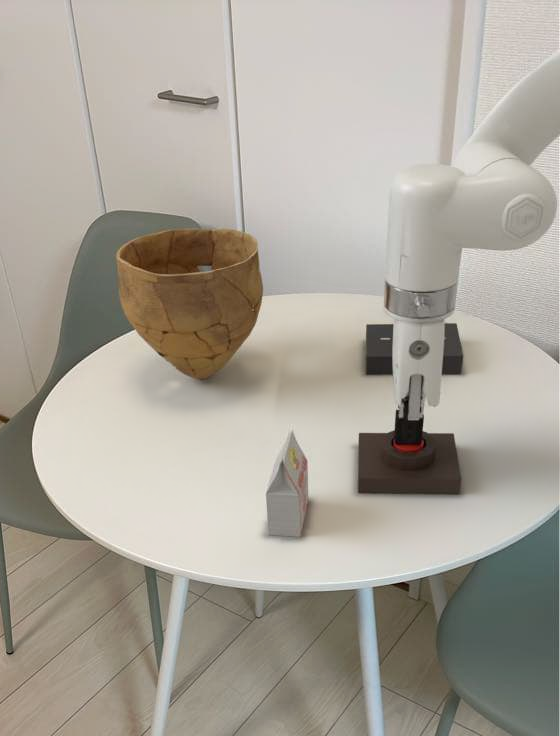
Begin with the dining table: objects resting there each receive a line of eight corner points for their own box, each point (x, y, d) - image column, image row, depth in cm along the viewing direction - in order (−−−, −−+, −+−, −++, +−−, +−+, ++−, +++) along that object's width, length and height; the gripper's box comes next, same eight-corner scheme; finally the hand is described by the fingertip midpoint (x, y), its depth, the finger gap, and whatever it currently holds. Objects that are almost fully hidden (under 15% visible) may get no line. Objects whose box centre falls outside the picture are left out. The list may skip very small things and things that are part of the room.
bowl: (116, 368, 120) (91, 241, 107) (229, 335, 126) (218, 211, 113) (168, 426, 105) (146, 287, 93) (293, 385, 112) (288, 250, 99)
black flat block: (454, 340, 120) (456, 322, 118) (461, 374, 112) (463, 354, 109) (365, 341, 122) (366, 323, 119) (365, 374, 113) (366, 355, 111)
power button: (421, 445, 94) (422, 433, 93) (423, 462, 91) (424, 449, 90) (392, 445, 94) (393, 433, 93) (393, 461, 92) (394, 449, 90)
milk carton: (268, 534, 86) (263, 462, 80) (278, 499, 91) (274, 428, 85) (300, 537, 86) (298, 464, 79) (308, 501, 91) (306, 430, 84)
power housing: (451, 447, 97) (455, 420, 95) (459, 494, 90) (463, 466, 87) (358, 446, 99) (359, 420, 96) (357, 492, 91) (358, 465, 89)
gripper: (463, 325, 74) (443, 478, 85) (450, 268, 85) (434, 409, 97) (385, 326, 74) (377, 477, 86) (382, 269, 86) (375, 409, 98)
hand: (407, 441), depth 91 cm, fingers closed
